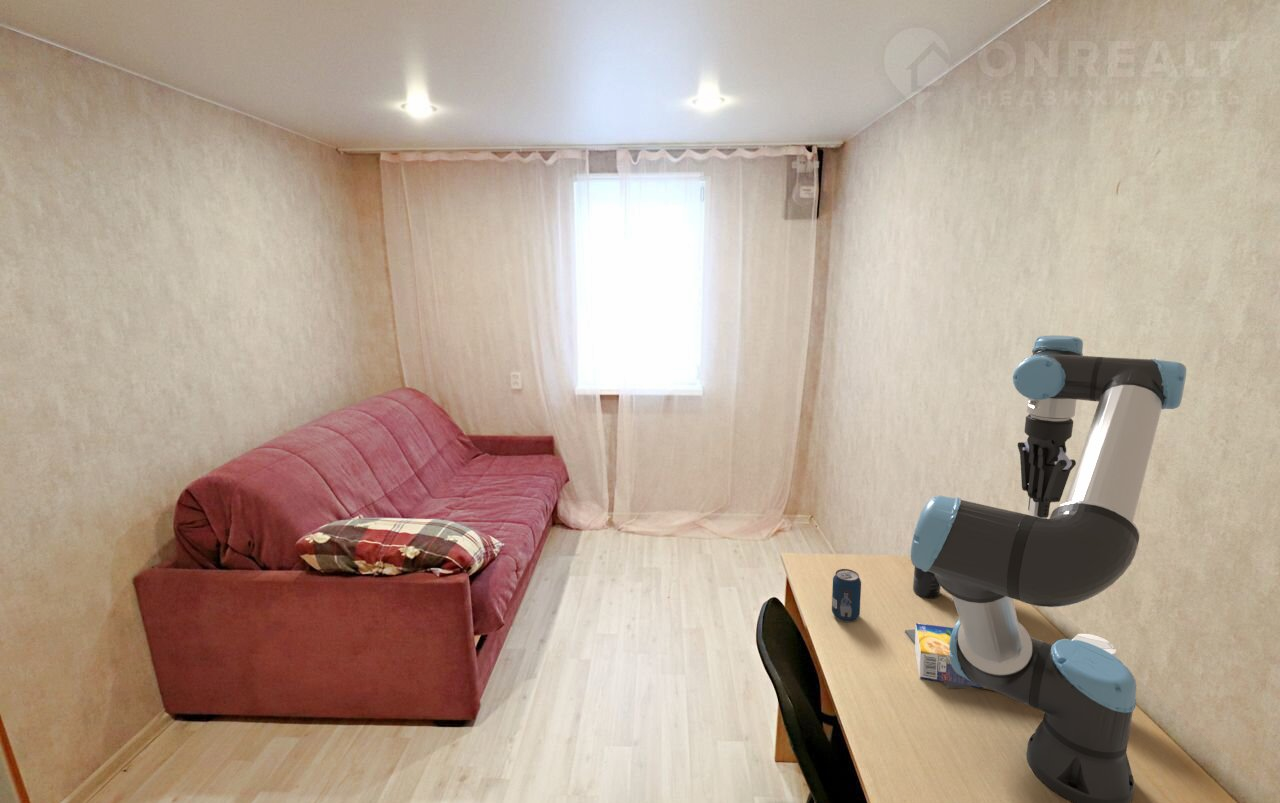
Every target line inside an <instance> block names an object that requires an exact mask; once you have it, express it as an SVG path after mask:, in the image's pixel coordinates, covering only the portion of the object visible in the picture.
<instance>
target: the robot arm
mask: <svg viewBox="0 0 1280 803" xmlns="http://www.w3.org/2000/svg"><path fill="white" fill-rule="evenodd" d="M1083 346H1084V342H1083V340H1082V339H1081V338H1080V337H1077V336H1070V335H1042V336H1038V337H1037V338H1035V340H1034V343H1033V348H1032V350H1031V353H1032V355H1030V356H1027V357H1026V358H1024V359H1023V360H1022V361H1020V363H1018V365H1017V366H1016V368H1015V370H1014V371H1013V375H1012V382H1013V385H1014V387H1015V390H1016V391H1017V392H1018V393H1019V394H1020V395H1022V396H1023V397H1025V398H1028V400H1027V405H1026V406H1027V408H1026V412H1027V413H1028V414H1027V415H1026V416H1025V422H1024V433H1025V434H1026V435H1027V436H1028V437H1027V439H1026V441H1022V442H1018V443H1017V448H1018V452H1019V460H1020V462H1019V463H1020V475H1021V476H1020V479H1021V489H1022V491H1023V492H1024V491H1025V492H1026V493H1027V495H1028V498H1029V499H1028V509H1027V510H1028V514H1025V513H1021V512H1018V511H1017V512H1016V511H1012V510H1008V509H1004V508H1000V507H996V506H995V507H994V506H990V505H985V504H982V503H977V502H972V501H967V500H964V499H961V497H951V496H945V495H934V496H932V497H931V498H930V499H929V500H928V501H926V503H925V505H924V507H923V508H922V510H921V513H920V515H919V517H918V520H917V523H916V525H915V530H914V533H913V536H912V541H911V547H910V561H911V564H912V565H913V566H914V568H915V567H917V568H919V569H922V571H925V572H927V571H929V572H932V573H934V575H935V578H936V580H937V581H938V583H939V584H940V586H941V588H942V589H943V590H944V591H945V592H946V593H947V594H949V595H950V596H951V597H952V600H953V603H954V606H955V609H956V612H957V616H958V619H957V621H956V622H955V624H954V627H952V628H953V631H952V634H951V638H950V645H949V650H950V654H949V657H950V662H951V665H952V667H953V669H954V671H955V672H956V673H957V674H959V675H960V676H962V677H964V678H966V679H967V680H969V681H970V682H972V683H975V684H980V685H982V686H984V687H987V688H989V689H992V690H991V691H994V692H997V693H999V694H1002V695H1004V696H1005V697H1009V698H1011V699H1013V700H1015V701H1018V702H1020V703H1022V704H1024V705H1027V706H1029V707H1031V708H1033V709H1036V710H1038V711H1040V712H1043V717H1042V720H1041V722H1040V723H1039V725H1037V728H1036V729H1035V731H1034V732H1033V733H1032V734H1031V736H1030V737H1029V738H1028V742H1027V746H1026V759H1027V763H1028V766H1029V767H1030V769H1031V771H1032V772H1033V774H1034V775H1035V776H1036V777H1037V778H1038V779H1039V780H1040V781H1041V782H1042V783H1043V784H1044V785H1045V786H1046V787H1047V788H1049V789H1050V790H1051V791H1053V792H1054V793H1056V794H1057V795H1059V796H1061V797H1062V798H1064V799H1065V800H1067V801H1070V802H1072V803H1132V802H1133V798H1134V794H1135V780H1134V776H1133V772H1132V769H1131V768H1132V767H1131V765H1130V761H1129V758H1128V753H1127V750H1128V749H1127V748H1128V744H1129V738H1130V732H1131V724H1132V719H1133V718H1132V717H1133V712H1134V711H1135V708H1136V706H1137V699H1136V692H1137V682H1136V679H1135V676H1134V675H1133V673H1132V672H1131V670H1130V669H1129V667H1127V666H1126V665H1125V664H1124V663H1123V662H1122V661H1121V660H1120V659H1119V658H1118V659H1117V658H1116V657H1115V656H1113V655H1112V654H1110V653H1109V652H1107V651H1105V650H1103V649H1101V648H1099V647H1097V646H1095V645H1092V644H1090V643H1087V642H1084V641H1080V640H1073V641H1071V640H1072V639H1070V638H1063V639H1058V640H1056V641H1055V642H1054V643H1053V644H1051V643H1049V642H1046V641H1043V640H1040V639H1039V638H1035V637H1032V636H1030V634H1029V632H1028V631H1027V629H1026V627H1024V626H1023V625H1022V624H1021V623H1020V622H1019V621H1018V616H1017V611H1016V606H1015V600H1017V601H1018V602H1019V601H1020V602H1023V603H1025V604H1029V605H1032V606H1037V607H1043V608H1044V607H1046V608H1047V607H1048V608H1056V607H1059V608H1060V607H1066V606H1070V605H1074V604H1078V603H1081V602H1084V601H1087V600H1089V599H1091V598H1094V597H1095V596H1097V595H1099V594H1100V593H1102V592H1104V591H1105V590H1107V589H1108V588H1109V587H1111V586H1113V585H1114V583H1116V582H1117V581H1118V580H1119V579H1120V578H1121V577H1122V576H1123V575H1124V574H1125V572H1126V571H1127V570H1128V568H1129V567H1130V565H1131V564H1132V563H1133V560H1134V559H1135V556H1136V552H1137V551H1138V550H1137V549H1138V546H1139V541H1140V531H1139V529H1138V527H1137V525H1136V524H1135V523H1134V519H1135V514H1136V511H1137V507H1138V503H1139V499H1140V494H1141V491H1142V487H1143V483H1144V479H1145V475H1146V471H1147V467H1148V463H1149V460H1150V456H1151V451H1152V448H1153V443H1154V441H1155V440H1154V439H1155V436H1156V432H1157V428H1158V425H1159V421H1160V417H1161V412H1162V410H1175V409H1178V408H1179V407H1180V406H1181V403H1182V399H1183V395H1184V394H1183V393H1184V389H1185V384H1186V377H1187V367H1186V365H1184V363H1181V362H1178V361H1168V360H1160V359H1156V358H1147V359H1146V358H1129V357H1127V358H1126V357H1111V356H1110V357H1109V356H1108V357H1107V356H1091V355H1084V354H1083ZM1079 400H1080V401H1089V402H1097V406H1096V408H1095V409H1096V410H1095V413H1094V415H1093V418H1092V421H1091V424H1090V427H1089V430H1088V432H1087V436H1086V439H1085V442H1084V445H1083V447H1082V451H1081V453H1080V457H1079V459H1078V463H1077V462H1076V460H1075V459H1070V458H1069V457H1068V455H1067V447H1066V442H1067V441H1068V440H1069V439H1071V437H1072V435H1073V428H1074V420H1073V418H1074V417H1075V414H1076V406H1077V401H1079ZM1076 464H1077V465H1076ZM1075 466H1076V468H1075ZM1074 468H1075V471H1074V475H1073V477H1072V480H1071V484H1070V486H1069V489H1068V492H1067V496H1066V498H1065V501H1064V503H1061V504H1059V505H1057V506H1056V507H1055V508H1054V509H1053V510H1052V511H1051V514H1050V509H1051V508H1050V507H1051V506H1050V505H1051V503H1060V502H1061V499H1062V497H1063V494H1064V490H1065V488H1066V484H1067V482H1068V479H1069V477H1070V474H1071V471H1072V470H1073V469H1074ZM1049 515H1050V517H1049ZM1048 517H1049V518H1048ZM989 689H988V690H989Z"/></svg>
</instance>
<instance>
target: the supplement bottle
mask: <svg viewBox="0 0 1280 803" xmlns="http://www.w3.org/2000/svg"><path fill="white" fill-rule="evenodd" d="M941 588H942V587H941V586H940V584H939V583H938V581H937V580H936V578H935V575H934V573H932V572H929V571H927V572H925V571H922V569H919V568H917V567H915V566H914V570H913V584H912V589H913V592H914V593H915V594H916V595H918V596H919V597H921V598H925V599H930V600H931V599H936V598H938V597H939V596H940V595H941V594H940V593H941Z"/></svg>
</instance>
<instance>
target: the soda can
mask: <svg viewBox="0 0 1280 803" xmlns="http://www.w3.org/2000/svg"><path fill="white" fill-rule="evenodd" d="M861 592H862V580H861V579H860V575H859V574H858V572H856V571H855V570H852V569H849V568H842V569H837V570H836V571H835V574H834V575H833V577H832V592H831V597H832V598H831V612H832V614H833V616H834V617H835V618H836V619H837V620H839V621H842V622H845V623H851V622H856V621H857V619H858V618H859V617H860V614H861V596H862V595H861Z"/></svg>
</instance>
